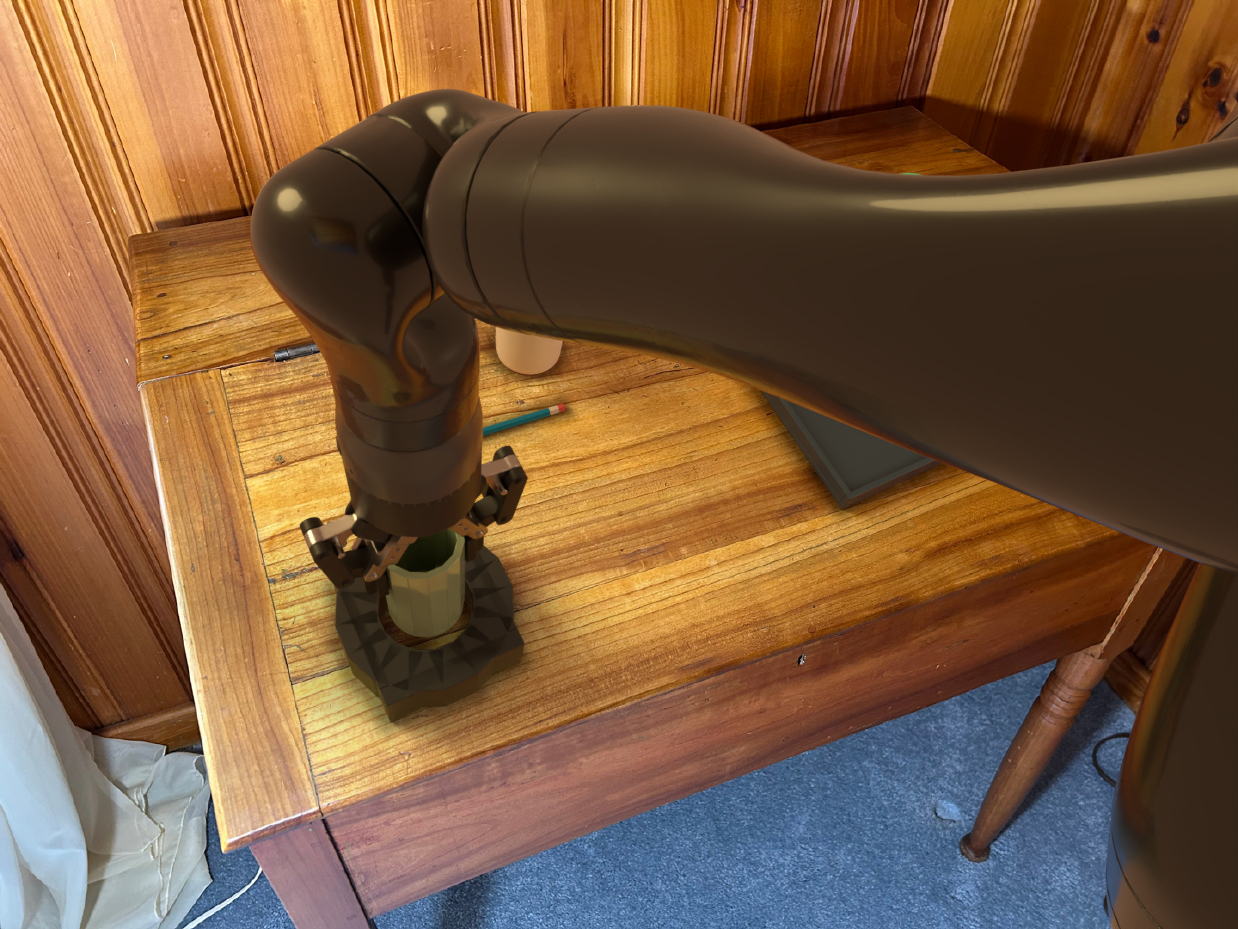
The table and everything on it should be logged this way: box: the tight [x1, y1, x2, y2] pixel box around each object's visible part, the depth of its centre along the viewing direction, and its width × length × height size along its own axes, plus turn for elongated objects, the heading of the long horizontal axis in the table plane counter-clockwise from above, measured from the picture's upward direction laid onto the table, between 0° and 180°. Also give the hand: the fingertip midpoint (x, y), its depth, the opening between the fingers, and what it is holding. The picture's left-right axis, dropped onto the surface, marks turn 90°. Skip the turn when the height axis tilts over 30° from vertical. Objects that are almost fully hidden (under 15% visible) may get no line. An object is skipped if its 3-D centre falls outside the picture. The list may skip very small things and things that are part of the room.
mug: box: [495, 327, 564, 375], centre depth 85 cm, size 10×7×12 cm, turn 121°
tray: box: [759, 390, 943, 510], centre depth 90 cm, size 17×13×2 cm
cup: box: [385, 529, 465, 638], centre depth 65 cm, size 6×6×11 cm
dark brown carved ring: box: [333, 545, 525, 723], centre depth 72 cm, size 13×13×4 cm
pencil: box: [483, 403, 566, 437], centre depth 84 cm, size 1×17×1 cm, turn 116°
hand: (423, 566), depth 64 cm, fingers closed on cup, 5 cm apart
